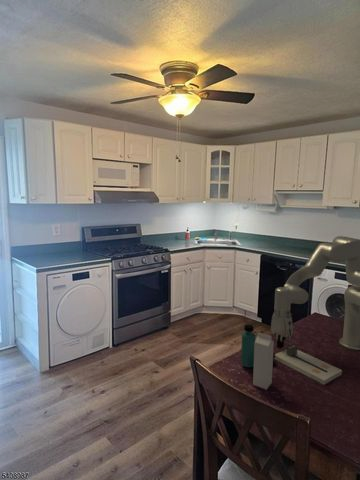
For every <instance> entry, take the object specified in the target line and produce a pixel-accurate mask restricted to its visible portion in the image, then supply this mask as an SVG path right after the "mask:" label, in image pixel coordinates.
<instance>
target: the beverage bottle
mask: <svg viewBox="0 0 360 480" xmlns="http://www.w3.org/2000/svg"><path fill="white" fill-rule="evenodd" d="M243 330H244V331H243V332H242V333H241V348H240V349H241V352H240V353H241V354H240V355H241V357H240V363H241V365H242V367H243V366H244V367H246V368H254V345H255V340H256V338H257V336H256V334H255V333H254V325H252V324H250V323H248V324H245V325H244V328H243Z"/></svg>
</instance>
